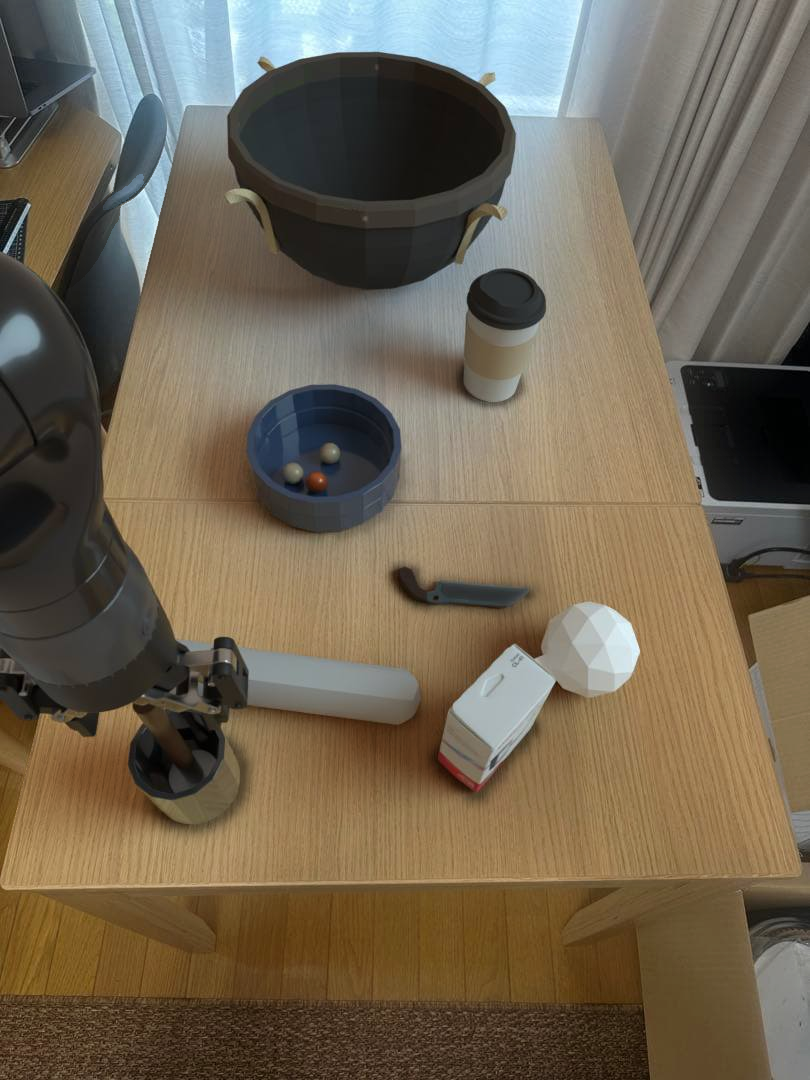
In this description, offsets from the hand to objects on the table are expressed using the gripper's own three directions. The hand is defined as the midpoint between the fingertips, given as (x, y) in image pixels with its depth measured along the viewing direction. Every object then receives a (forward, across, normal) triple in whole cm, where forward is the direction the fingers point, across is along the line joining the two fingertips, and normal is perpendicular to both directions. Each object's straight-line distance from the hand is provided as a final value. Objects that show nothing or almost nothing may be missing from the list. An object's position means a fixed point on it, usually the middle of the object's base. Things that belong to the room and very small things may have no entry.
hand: (154, 719), depth 52 cm
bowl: (+16, -19, -72) cm, 76 cm away
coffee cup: (+16, -33, -48) cm, 61 cm away
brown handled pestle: (+16, 0, 0) cm, 16 cm away
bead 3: (+14, -12, -36) cm, 40 cm away
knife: (+16, -26, -18) cm, 36 cm away
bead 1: (+14, -8, -33) cm, 37 cm away
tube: (+16, -8, -8) cm, 20 cm away
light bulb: (+16, -35, -9) cm, 40 cm away
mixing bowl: (+16, -12, -34) cm, 40 cm away
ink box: (+16, -26, -2) cm, 31 cm away
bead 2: (+14, -11, -32) cm, 36 cm away
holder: (+16, 0, 0) cm, 16 cm away
